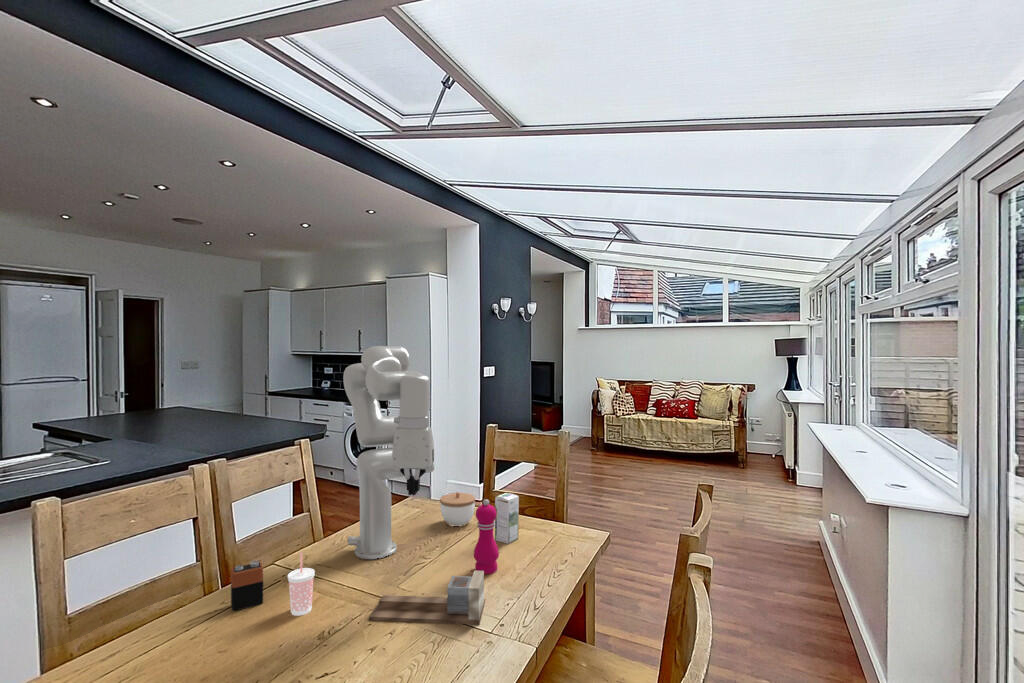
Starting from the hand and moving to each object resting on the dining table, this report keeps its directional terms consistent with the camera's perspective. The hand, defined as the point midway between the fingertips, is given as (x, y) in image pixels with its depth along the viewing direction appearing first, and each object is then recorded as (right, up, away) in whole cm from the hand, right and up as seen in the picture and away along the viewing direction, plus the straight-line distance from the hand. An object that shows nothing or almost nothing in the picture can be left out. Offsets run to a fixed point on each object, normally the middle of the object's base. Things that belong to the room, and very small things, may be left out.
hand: (413, 493), depth 128 cm
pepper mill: (+18, -26, +14) cm, 35 cm away
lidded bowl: (+6, -27, +51) cm, 58 cm away
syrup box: (+24, -26, +36) cm, 50 cm away
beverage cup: (-26, -26, -8) cm, 37 cm away
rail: (+5, -26, -8) cm, 28 cm away
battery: (-40, -26, -4) cm, 48 cm away
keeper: (+13, -25, -9) cm, 29 cm away
